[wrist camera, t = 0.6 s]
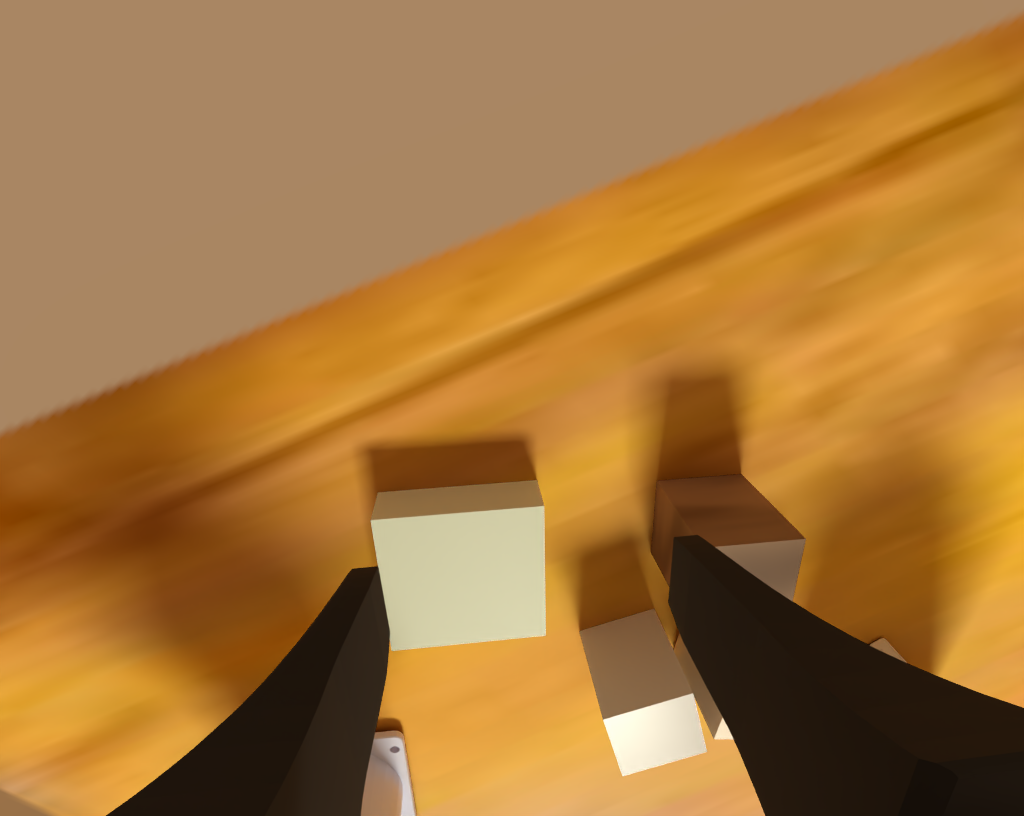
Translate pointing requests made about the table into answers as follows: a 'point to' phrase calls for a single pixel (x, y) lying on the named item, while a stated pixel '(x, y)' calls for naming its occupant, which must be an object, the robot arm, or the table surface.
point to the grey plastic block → (642, 693)
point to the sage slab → (461, 563)
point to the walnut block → (728, 527)
